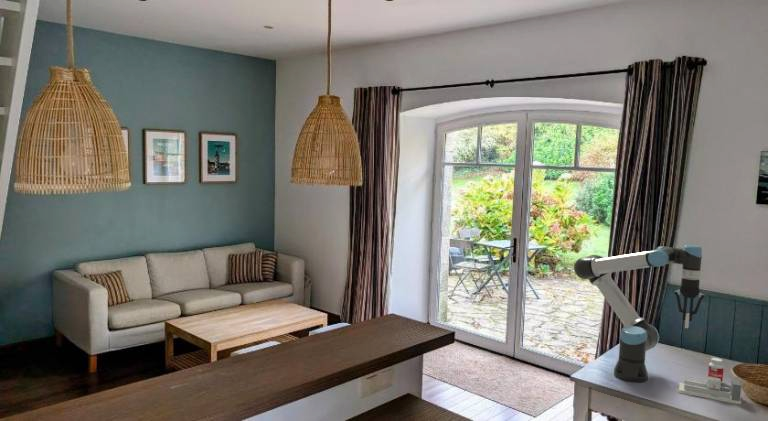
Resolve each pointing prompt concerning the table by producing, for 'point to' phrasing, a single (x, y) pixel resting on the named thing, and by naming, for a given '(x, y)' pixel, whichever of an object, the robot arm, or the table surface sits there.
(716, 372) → the pill bottle
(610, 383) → the table surface
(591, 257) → the robot arm
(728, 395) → the base
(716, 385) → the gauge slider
